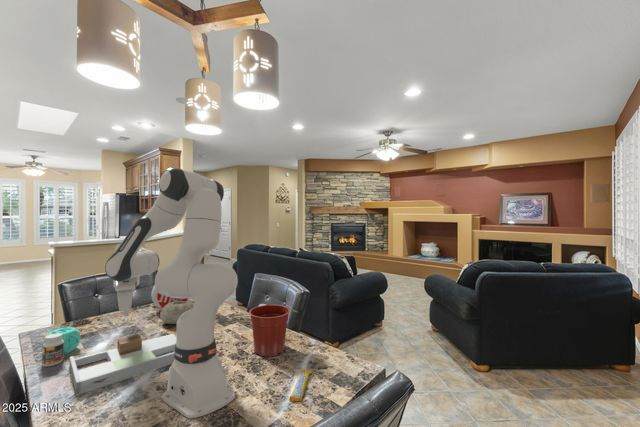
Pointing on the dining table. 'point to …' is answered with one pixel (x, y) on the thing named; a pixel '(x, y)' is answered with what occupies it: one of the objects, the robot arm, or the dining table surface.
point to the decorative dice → (68, 338)
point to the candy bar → (300, 385)
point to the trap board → (121, 364)
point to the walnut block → (129, 344)
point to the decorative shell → (175, 311)
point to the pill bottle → (53, 350)
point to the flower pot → (269, 329)
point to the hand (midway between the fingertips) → (126, 315)
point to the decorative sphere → (163, 299)
